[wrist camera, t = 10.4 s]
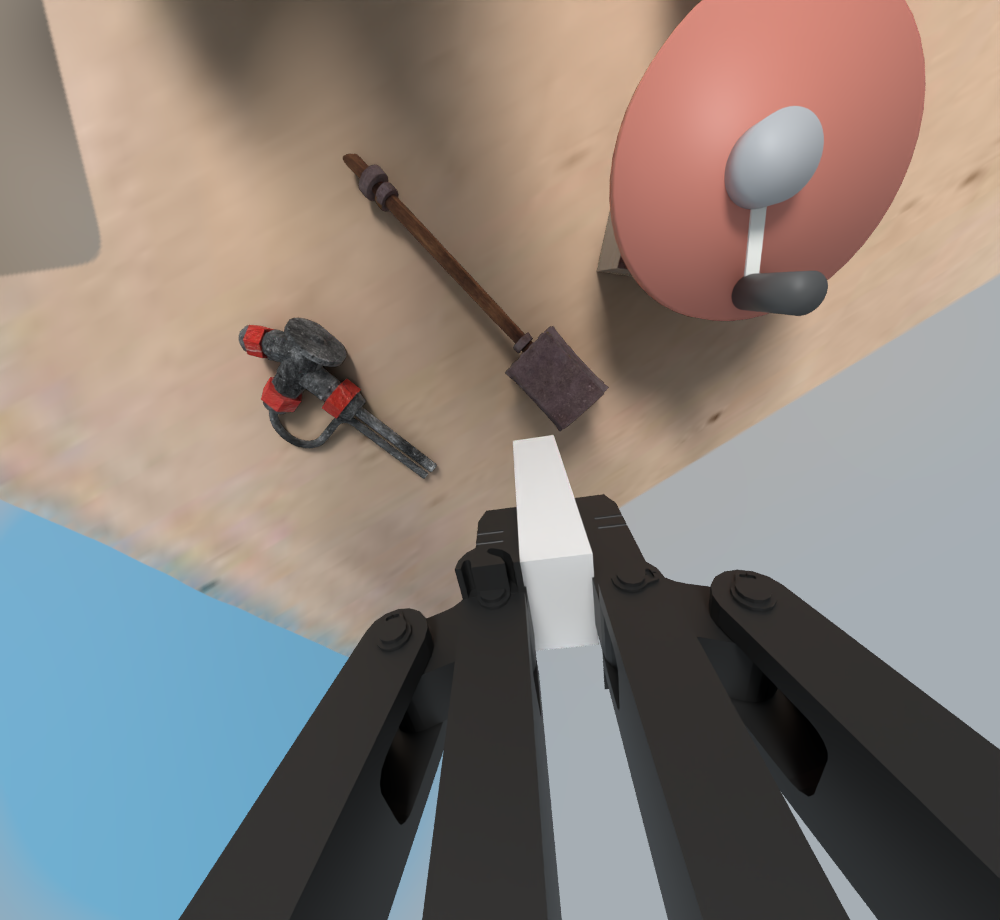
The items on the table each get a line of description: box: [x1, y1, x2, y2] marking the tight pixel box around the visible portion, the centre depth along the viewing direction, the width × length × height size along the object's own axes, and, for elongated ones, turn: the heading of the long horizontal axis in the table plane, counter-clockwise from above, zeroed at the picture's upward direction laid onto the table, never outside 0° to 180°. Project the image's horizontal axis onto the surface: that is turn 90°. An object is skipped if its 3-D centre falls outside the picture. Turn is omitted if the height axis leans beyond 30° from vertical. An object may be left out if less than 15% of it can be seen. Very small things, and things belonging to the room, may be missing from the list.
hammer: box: [343, 154, 609, 431], centre depth 38 cm, size 7×33×10 cm, turn 46°
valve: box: [239, 318, 437, 479], centre depth 45 cm, size 6×26×15 cm
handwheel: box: [609, 0, 925, 321], centre depth 25 cm, size 20×20×10 cm
